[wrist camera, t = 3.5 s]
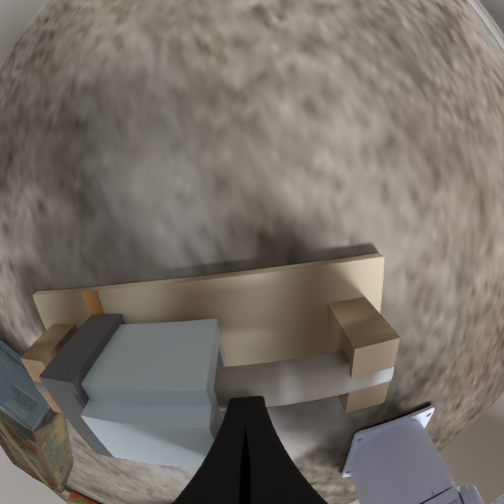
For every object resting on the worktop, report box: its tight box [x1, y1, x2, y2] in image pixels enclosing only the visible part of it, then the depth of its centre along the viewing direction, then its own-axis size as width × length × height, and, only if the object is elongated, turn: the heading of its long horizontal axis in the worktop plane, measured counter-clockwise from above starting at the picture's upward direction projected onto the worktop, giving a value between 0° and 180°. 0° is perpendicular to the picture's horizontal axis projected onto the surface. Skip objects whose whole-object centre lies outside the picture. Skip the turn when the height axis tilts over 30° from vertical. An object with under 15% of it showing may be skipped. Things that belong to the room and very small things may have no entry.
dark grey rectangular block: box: [39, 314, 125, 460], centre depth 11 cm, size 2×5×5 cm, turn 7°
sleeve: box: [81, 318, 228, 468], centre depth 10 cm, size 5×5×6 cm
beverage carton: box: [0, 340, 73, 493], centre depth 14 cm, size 8×19×7 cm, turn 155°
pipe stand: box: [20, 253, 400, 414], centre depth 12 cm, size 20×8×4 cm, turn 97°
